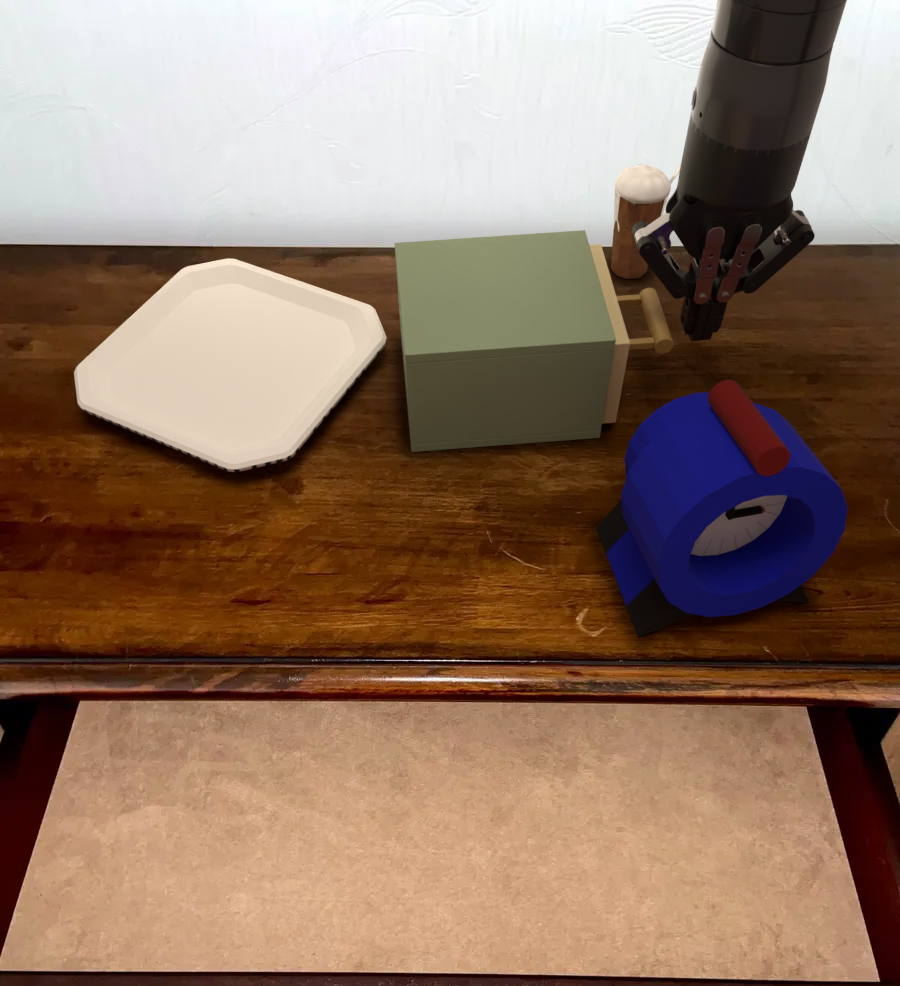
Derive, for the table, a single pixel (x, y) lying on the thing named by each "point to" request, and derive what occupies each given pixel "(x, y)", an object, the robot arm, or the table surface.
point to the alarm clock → (718, 511)
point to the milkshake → (636, 214)
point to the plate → (231, 364)
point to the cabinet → (503, 340)
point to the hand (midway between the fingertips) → (697, 333)
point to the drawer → (623, 344)
